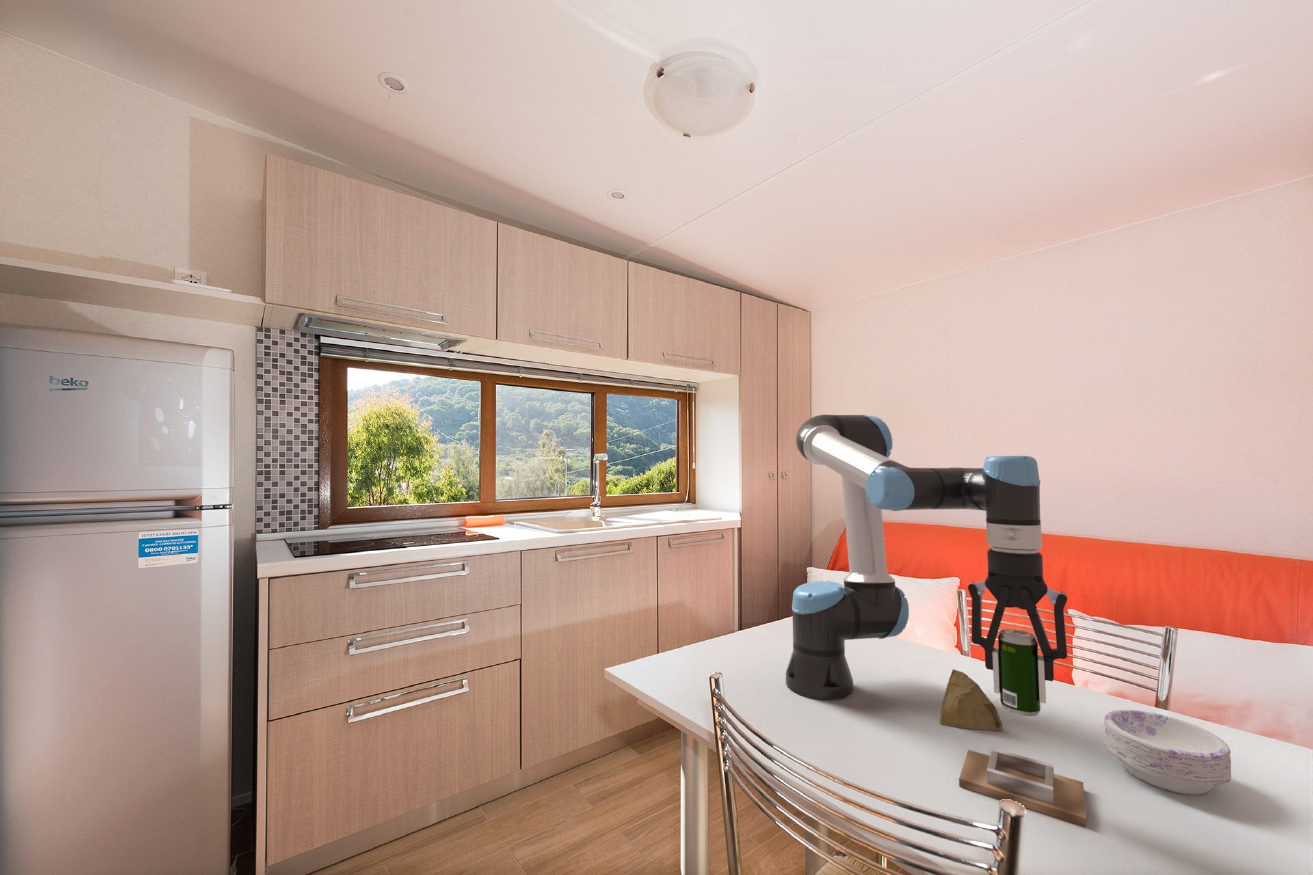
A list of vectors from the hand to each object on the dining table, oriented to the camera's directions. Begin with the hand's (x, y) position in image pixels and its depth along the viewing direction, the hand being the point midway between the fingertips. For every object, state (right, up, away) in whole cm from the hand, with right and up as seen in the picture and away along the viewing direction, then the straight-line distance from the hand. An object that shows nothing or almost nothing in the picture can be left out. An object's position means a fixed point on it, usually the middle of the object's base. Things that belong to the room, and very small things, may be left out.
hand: (1019, 694), depth 86 cm
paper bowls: (+26, -15, +2) cm, 30 cm away
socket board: (0, -15, 0) cm, 15 cm away
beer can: (0, -3, 0) cm, 3 cm away
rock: (+4, -16, +20) cm, 26 cm away
